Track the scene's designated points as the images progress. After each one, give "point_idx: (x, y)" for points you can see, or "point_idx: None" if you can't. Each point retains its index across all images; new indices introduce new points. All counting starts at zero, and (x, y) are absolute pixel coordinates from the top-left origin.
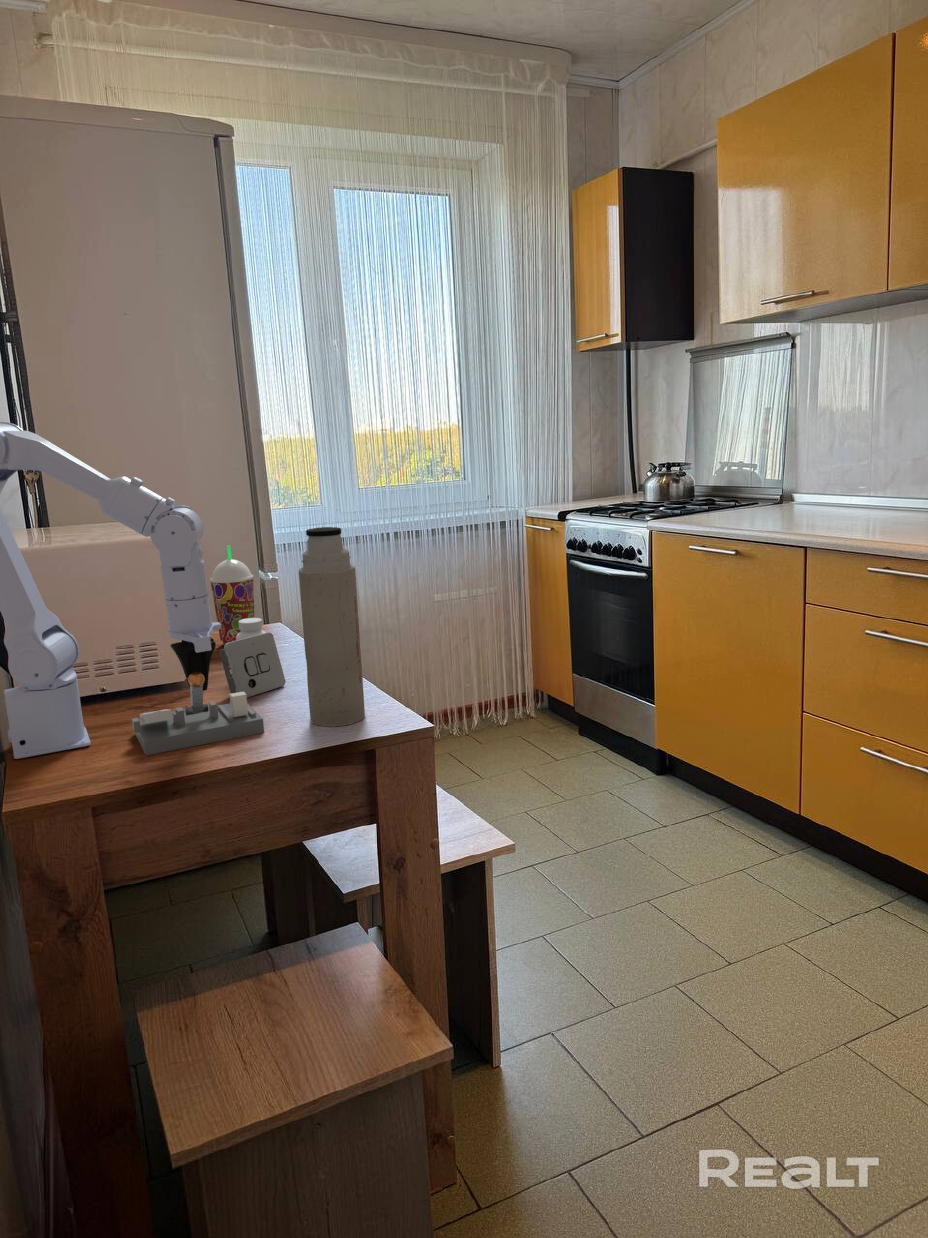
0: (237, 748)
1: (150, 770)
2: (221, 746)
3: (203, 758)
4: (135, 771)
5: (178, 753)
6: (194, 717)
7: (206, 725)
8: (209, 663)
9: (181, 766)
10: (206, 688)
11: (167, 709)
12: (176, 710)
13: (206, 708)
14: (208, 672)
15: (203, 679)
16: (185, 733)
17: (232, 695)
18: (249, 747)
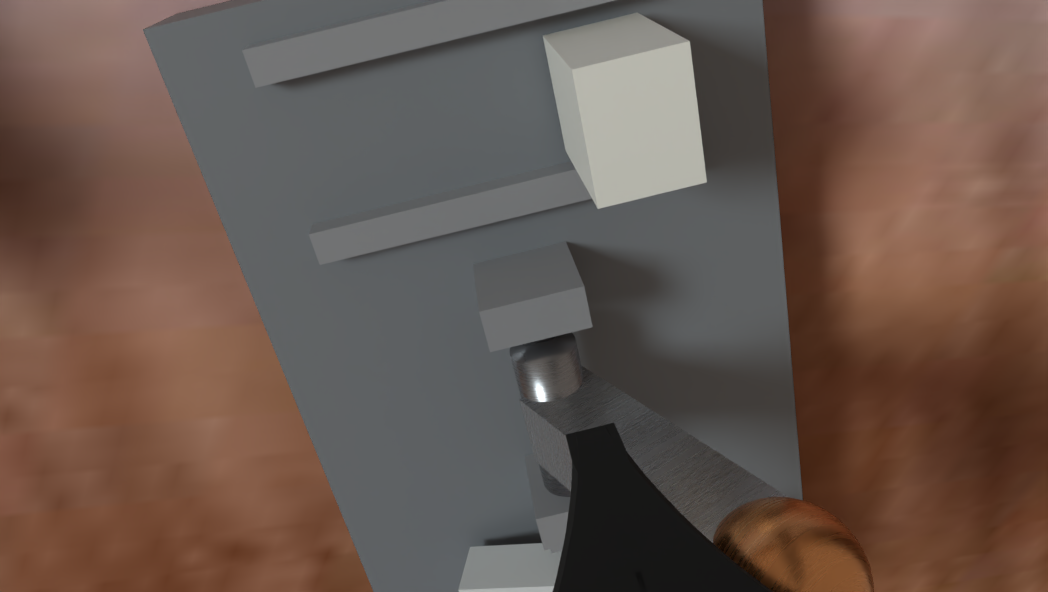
0: (935, 89)
1: (987, 493)
2: (843, 187)
3: (981, 277)
4: (959, 547)
5: (828, 403)
6: (488, 395)
7: (700, 311)
8: (753, 579)
9: (1025, 373)
10: (614, 433)
11: (539, 588)
12: None
13: (577, 351)
14: (676, 512)
15: (835, 525)
16: (793, 418)
17: (663, 179)
18: (962, 10)
